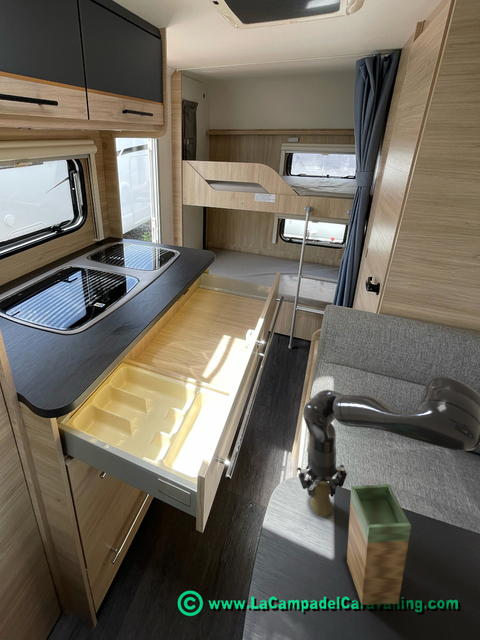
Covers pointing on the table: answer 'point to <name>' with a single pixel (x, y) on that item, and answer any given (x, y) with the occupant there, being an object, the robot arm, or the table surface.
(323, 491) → the cork
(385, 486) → the box
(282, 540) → the table surface
